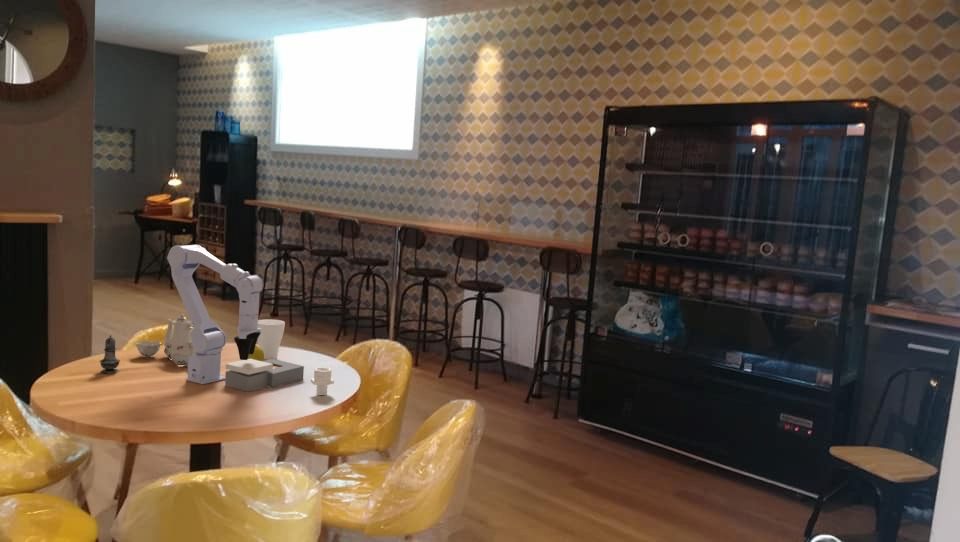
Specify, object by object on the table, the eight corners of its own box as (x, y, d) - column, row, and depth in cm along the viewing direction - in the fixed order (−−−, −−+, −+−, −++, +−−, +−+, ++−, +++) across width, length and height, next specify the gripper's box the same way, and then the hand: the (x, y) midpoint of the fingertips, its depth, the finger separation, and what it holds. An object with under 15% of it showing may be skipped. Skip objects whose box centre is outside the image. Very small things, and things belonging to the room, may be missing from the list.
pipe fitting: (337, 394, 221) (338, 369, 220) (320, 398, 215) (322, 373, 214) (322, 390, 224) (323, 365, 223) (305, 394, 218) (307, 369, 217)
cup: (247, 358, 256) (249, 322, 255) (264, 353, 266) (266, 318, 265) (272, 362, 253) (274, 325, 252) (288, 357, 263) (290, 321, 262)
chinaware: (125, 362, 246) (122, 316, 242) (164, 349, 261) (161, 305, 257) (186, 375, 235) (183, 327, 232) (222, 361, 250) (220, 316, 247)
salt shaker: (123, 370, 229) (124, 334, 228) (112, 374, 223) (113, 337, 222) (106, 368, 230) (107, 332, 229) (95, 373, 224) (95, 335, 223)
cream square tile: (248, 374, 216) (248, 369, 216) (225, 368, 221) (226, 363, 221) (272, 369, 225) (273, 364, 225) (250, 363, 229) (250, 358, 229)
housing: (252, 392, 216) (253, 378, 215) (220, 384, 222) (221, 370, 222) (303, 379, 235) (303, 366, 234) (272, 371, 241) (272, 358, 241)
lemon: (260, 371, 241) (261, 348, 240) (244, 369, 241) (245, 346, 240) (265, 367, 247) (266, 344, 246) (250, 366, 247) (251, 343, 246)
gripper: (256, 319, 213) (254, 363, 214) (266, 311, 227) (264, 352, 229) (232, 317, 212) (230, 361, 214) (244, 309, 227) (242, 351, 228)
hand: (246, 356), depth 221 cm, fingers open, 7 cm apart
